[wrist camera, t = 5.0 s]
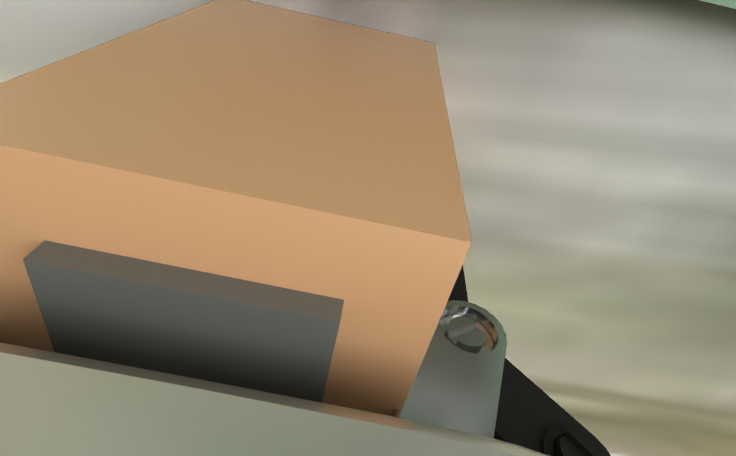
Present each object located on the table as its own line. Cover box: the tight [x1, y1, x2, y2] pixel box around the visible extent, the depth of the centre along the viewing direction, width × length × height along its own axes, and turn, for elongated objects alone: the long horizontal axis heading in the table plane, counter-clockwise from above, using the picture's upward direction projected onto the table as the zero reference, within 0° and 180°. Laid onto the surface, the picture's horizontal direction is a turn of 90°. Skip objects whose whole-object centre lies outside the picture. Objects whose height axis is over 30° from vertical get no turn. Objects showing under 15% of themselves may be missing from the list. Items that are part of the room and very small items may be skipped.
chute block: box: [0, 0, 472, 417], centre depth 9 cm, size 5×8×8 cm, turn 169°
